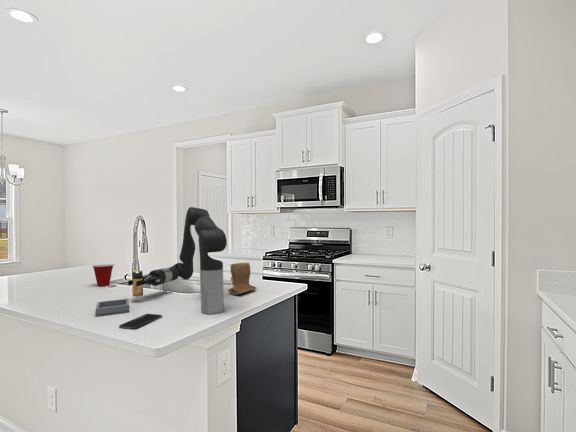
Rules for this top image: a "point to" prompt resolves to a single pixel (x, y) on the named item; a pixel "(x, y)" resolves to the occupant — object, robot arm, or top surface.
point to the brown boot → (240, 278)
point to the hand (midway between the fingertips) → (132, 283)
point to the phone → (140, 321)
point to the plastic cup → (103, 274)
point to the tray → (112, 307)
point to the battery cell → (136, 276)
